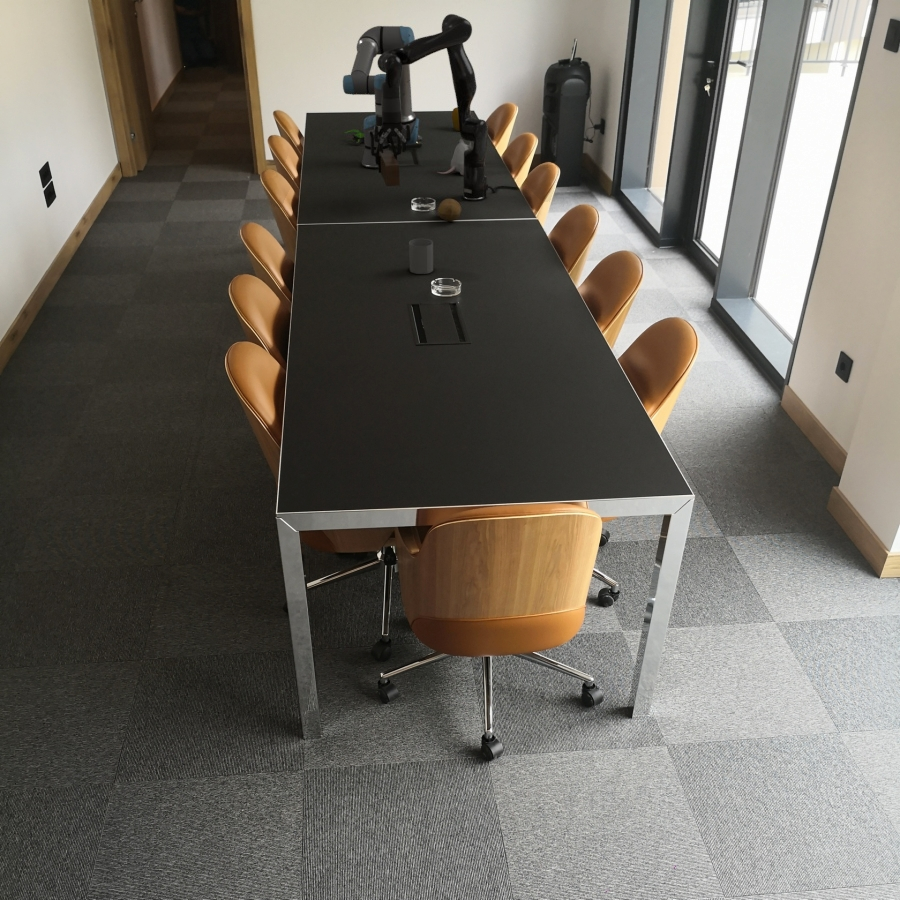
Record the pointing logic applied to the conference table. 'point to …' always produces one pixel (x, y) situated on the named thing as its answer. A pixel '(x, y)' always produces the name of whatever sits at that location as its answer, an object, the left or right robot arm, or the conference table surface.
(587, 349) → the conference table surface
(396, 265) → the conference table surface
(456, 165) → the toy
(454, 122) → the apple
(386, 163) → the bar
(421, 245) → the cup
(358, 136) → the green dinosaur figurine
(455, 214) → the potato
